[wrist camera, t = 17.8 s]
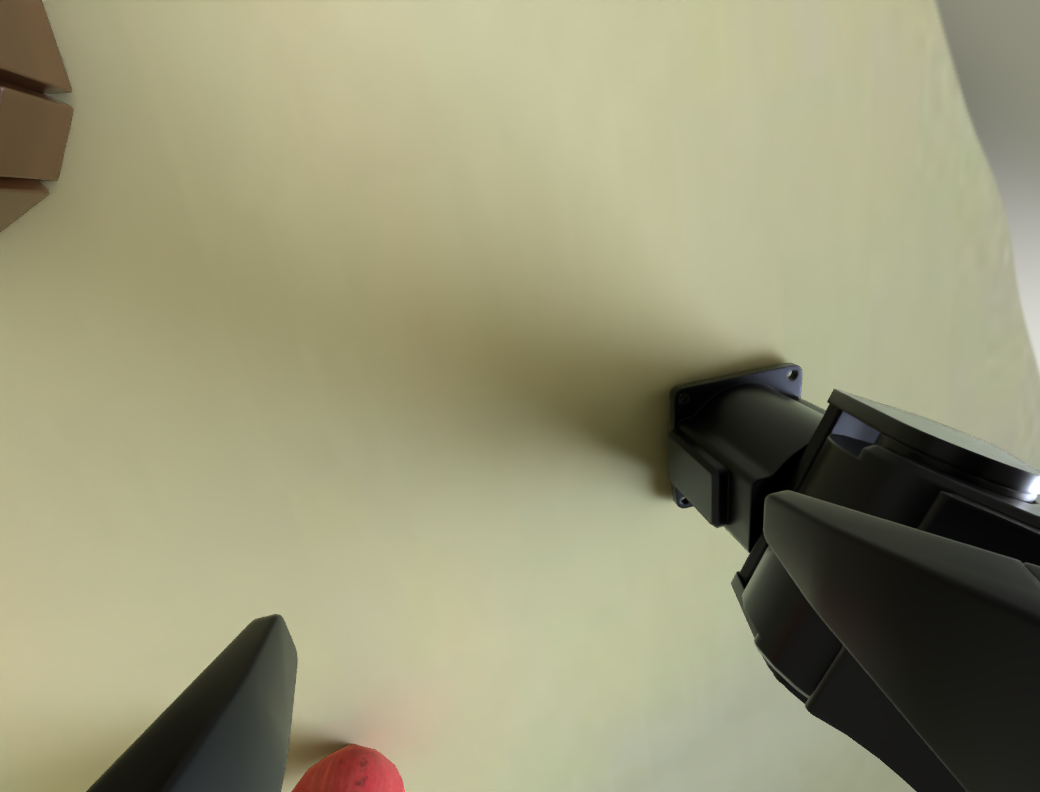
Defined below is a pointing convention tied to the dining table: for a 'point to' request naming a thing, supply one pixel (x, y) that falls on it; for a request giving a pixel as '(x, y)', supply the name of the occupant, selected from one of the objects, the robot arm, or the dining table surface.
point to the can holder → (29, 107)
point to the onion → (352, 773)
